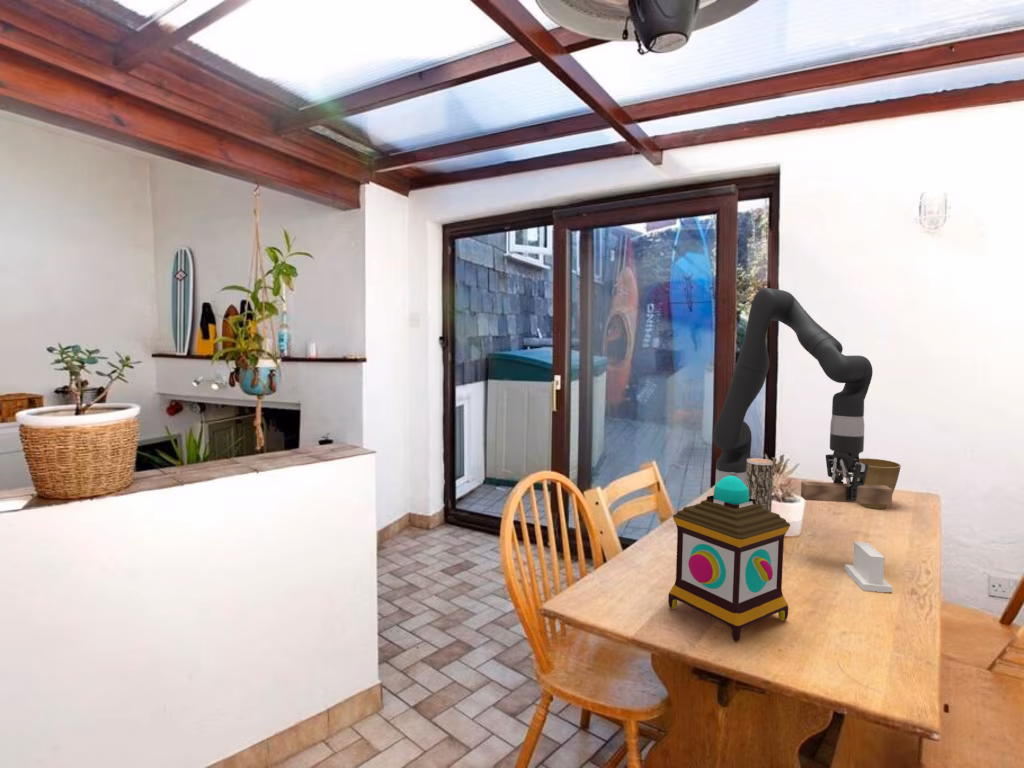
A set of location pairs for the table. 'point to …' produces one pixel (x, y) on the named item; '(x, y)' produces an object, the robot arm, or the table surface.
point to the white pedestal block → (868, 568)
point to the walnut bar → (838, 493)
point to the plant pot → (880, 476)
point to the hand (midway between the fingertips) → (844, 497)
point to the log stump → (760, 481)
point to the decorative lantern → (730, 558)
